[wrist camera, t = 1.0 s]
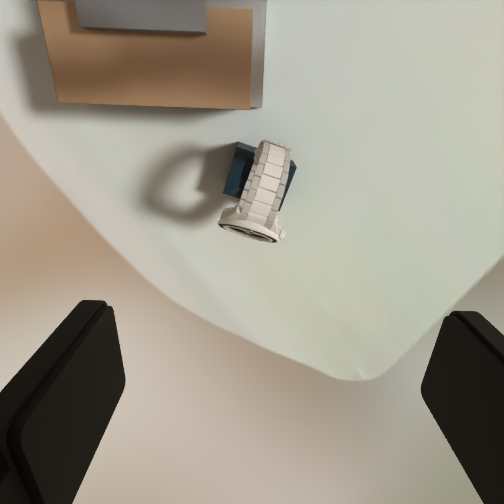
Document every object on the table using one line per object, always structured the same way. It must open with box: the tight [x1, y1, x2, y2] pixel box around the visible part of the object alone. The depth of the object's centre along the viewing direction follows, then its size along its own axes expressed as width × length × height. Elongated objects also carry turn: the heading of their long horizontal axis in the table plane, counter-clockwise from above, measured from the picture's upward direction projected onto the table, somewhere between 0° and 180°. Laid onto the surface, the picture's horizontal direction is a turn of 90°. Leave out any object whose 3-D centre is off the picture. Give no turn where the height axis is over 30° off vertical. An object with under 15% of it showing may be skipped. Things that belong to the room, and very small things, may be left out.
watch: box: [218, 139, 297, 243], centre depth 27 cm, size 6×8×11 cm
